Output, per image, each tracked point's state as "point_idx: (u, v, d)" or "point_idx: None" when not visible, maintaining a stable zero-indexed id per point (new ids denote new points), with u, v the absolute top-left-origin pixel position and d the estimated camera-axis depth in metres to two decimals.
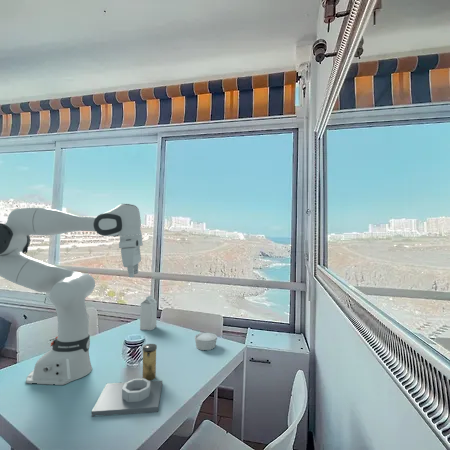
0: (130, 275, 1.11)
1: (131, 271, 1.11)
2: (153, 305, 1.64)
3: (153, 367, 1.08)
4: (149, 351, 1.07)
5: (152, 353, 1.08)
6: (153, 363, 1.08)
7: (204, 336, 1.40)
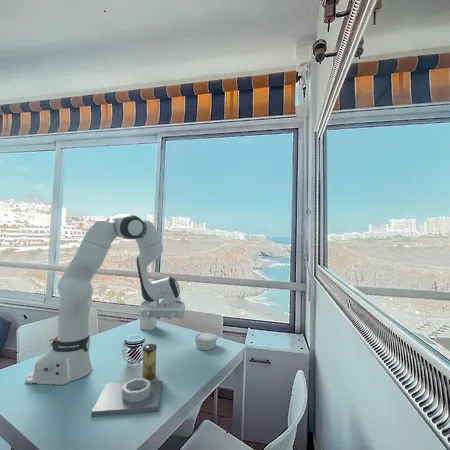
0: (171, 316, 1.23)
1: (173, 316, 1.25)
2: (153, 305, 1.64)
3: (153, 367, 1.08)
4: (149, 351, 1.07)
5: (152, 353, 1.08)
6: (153, 363, 1.08)
7: (204, 336, 1.40)
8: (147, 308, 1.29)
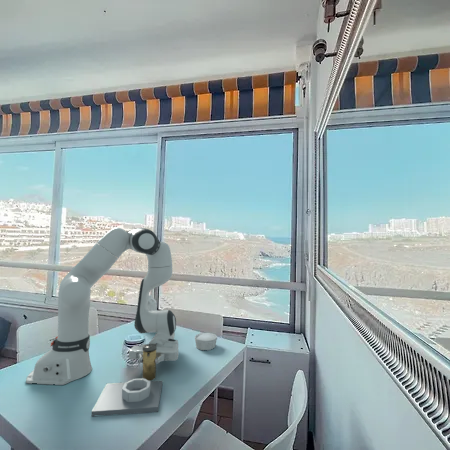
0: (159, 359, 1.10)
1: (161, 359, 1.11)
2: (153, 305, 1.64)
3: (153, 367, 1.08)
4: (149, 351, 1.07)
5: (152, 353, 1.08)
6: (153, 363, 1.08)
7: (204, 336, 1.40)
8: (136, 348, 1.16)
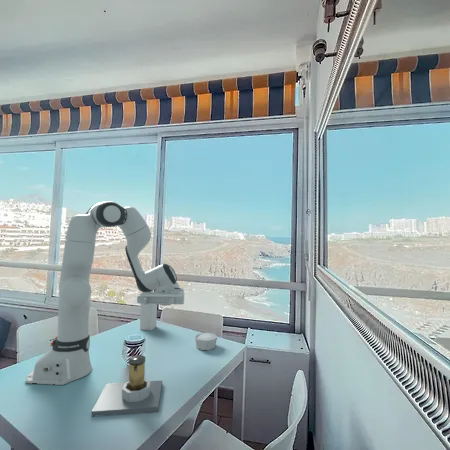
0: (170, 301, 1.15)
1: (172, 302, 1.17)
2: (153, 305, 1.64)
3: (141, 382, 0.94)
4: (136, 364, 0.94)
5: (140, 366, 0.94)
6: (141, 378, 0.94)
7: (204, 336, 1.40)
8: (144, 294, 1.22)
